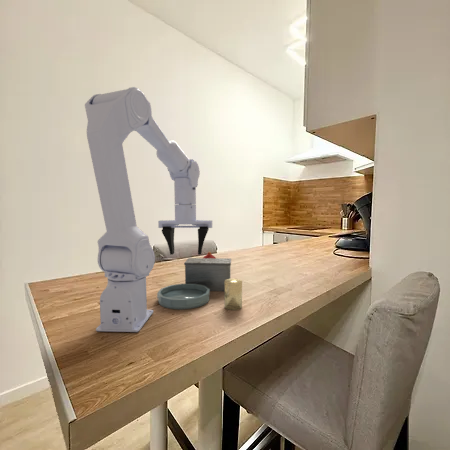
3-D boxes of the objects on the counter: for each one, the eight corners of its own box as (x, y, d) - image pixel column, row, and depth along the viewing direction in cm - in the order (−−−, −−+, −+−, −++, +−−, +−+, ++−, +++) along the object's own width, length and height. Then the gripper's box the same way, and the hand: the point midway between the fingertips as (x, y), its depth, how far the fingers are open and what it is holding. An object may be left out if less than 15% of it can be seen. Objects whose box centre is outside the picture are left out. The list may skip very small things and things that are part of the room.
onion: (198, 274, 90) (198, 250, 90) (215, 273, 92) (214, 249, 92) (203, 279, 85) (203, 253, 84) (220, 277, 87) (220, 252, 86)
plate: (206, 309, 61) (206, 300, 60) (151, 309, 61) (151, 299, 61) (211, 292, 73) (211, 283, 73) (165, 291, 73) (165, 283, 73)
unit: (230, 291, 73) (230, 263, 73) (184, 290, 74) (184, 262, 73) (231, 284, 80) (231, 258, 79) (188, 283, 80) (188, 258, 80)
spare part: (242, 310, 60) (242, 283, 60) (224, 310, 61) (224, 283, 60) (241, 303, 64) (242, 278, 64) (224, 303, 65) (224, 278, 64)
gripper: (213, 204, 78) (213, 251, 80) (162, 204, 79) (163, 251, 80) (210, 204, 71) (211, 256, 72) (155, 204, 72) (156, 255, 73)
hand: (186, 254), depth 76 cm, fingers open, 7 cm apart
